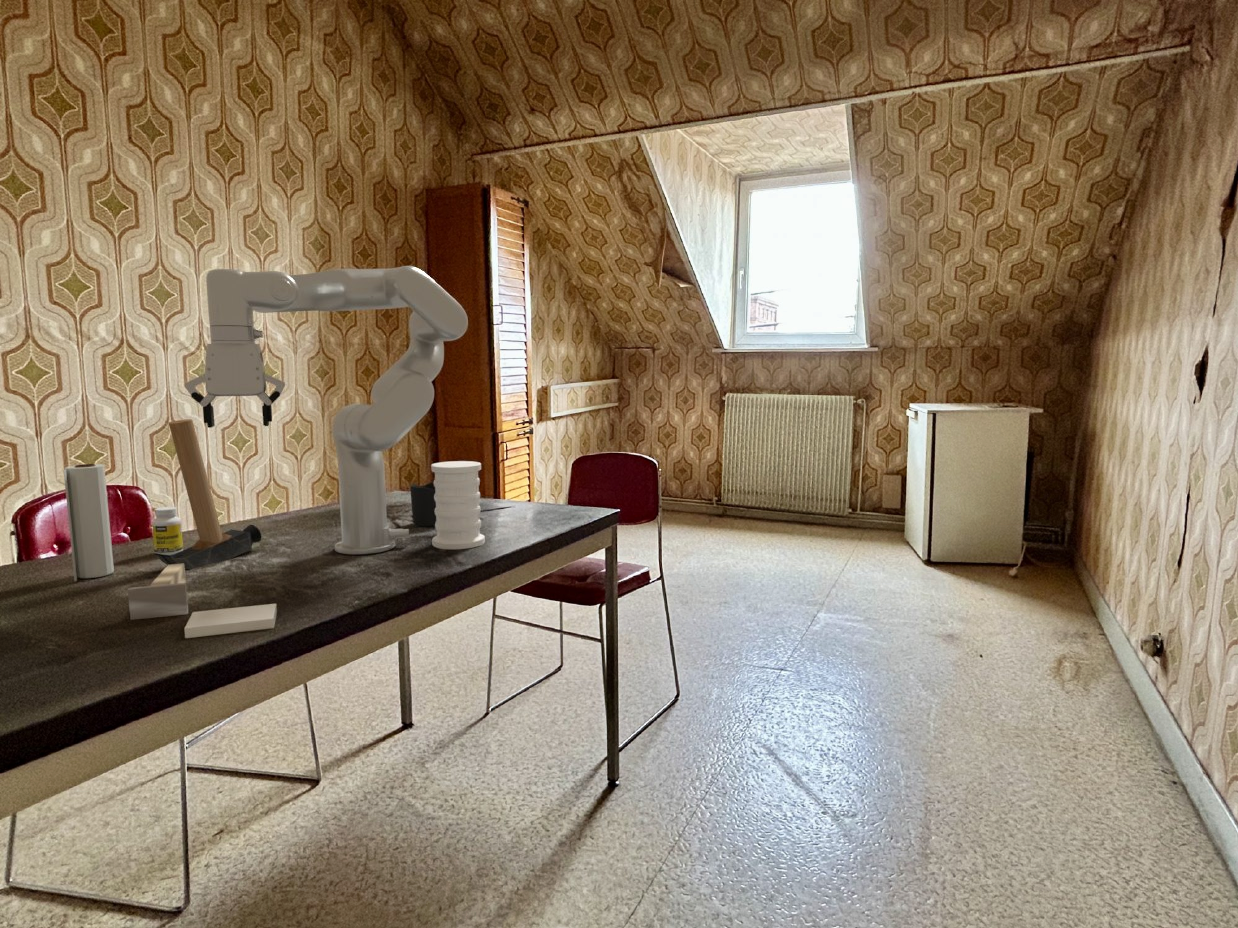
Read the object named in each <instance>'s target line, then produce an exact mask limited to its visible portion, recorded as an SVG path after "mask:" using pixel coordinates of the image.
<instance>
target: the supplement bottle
mask: <svg viewBox="0 0 1238 928" xmlns="http://www.w3.org/2000/svg"><path fill="white" fill-rule="evenodd" d="M177 510H178V509H177V507H175V506H163V507H157V508H155V509H154V515H155V517H156V518H154V519H153V520H152V523H151V527H152V528H151V529H152V540H153V554H154V553H157V554H162V555H169V556H170V555H173V554H176V553H178V552H180V551H183V550H184V543H183V542H184V541H183V528H182V527H183V526H182V520H181V518H180V517H179V516H177V514H178V513H177V512H178V511H177Z"/></svg>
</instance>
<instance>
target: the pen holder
mask: <svg viewBox="0 0 1238 928" xmlns="http://www.w3.org/2000/svg"><path fill="white" fill-rule="evenodd" d="M409 487H410V490H409V491H410V500H411V501H410V502H411V513H412V514H411V515H412V522H413V523H412V524H413V525H414V526H416V527H422V528H424V527H425V528H432V527H433V528H434V527H435V523H436V515H435V512H434V511H435V508H436V501H435V499H434V494H435V487H434V481H432V482H429V483H426V484H423V485H417V484H413V483H412V484H410V485H409Z"/></svg>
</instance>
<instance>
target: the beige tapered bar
mask: <svg viewBox="0 0 1238 928" xmlns="http://www.w3.org/2000/svg"><path fill="white" fill-rule="evenodd" d="M127 596H128V609H129V616H130V617H129V619H130V621H132V620H142V619H151V618H163V617H171V616H181V615H183V616H184V615H188V614H189V611H190V610H189V600H188V589H187V579H186V569H185V566H184V563H183V564H171V565H167V566H166V567H165V568H164V569H163V570H162V571H161V573H159V574H158V575H157V577H156V578H154V580H153V581H152V582H151V584H150V585H147V586H135V587H128V589H127Z"/></svg>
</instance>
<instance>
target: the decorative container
mask: <svg viewBox="0 0 1238 928" xmlns="http://www.w3.org/2000/svg"><path fill="white" fill-rule="evenodd" d="M430 468H431V469H430V470H431V472H432V473H434V480H433V482H434V487H435V494H434V499H435V501H436V508H435V511H434V512H435V515H436V523H435V526H434V528H435V530H436V535H435V536H434V537H432V540H431V541H432V543H431V544H432V546H433V547H434V548H437V549H441V550H465V549H466V550H467V549H472V548H473V549H474V548H477V547H481V546H482V545H484V544H485V543H486V539H485V537H486V536H485V535H484V534H482V533H481V529H480V528H481V527H482V521H481V519H480V514H481V511H482V508H481V505H480V500H481V492H480V489H479V486H480V482H481V479H480V477H479V471H481V470H482V463H481V462H478V461H470V460H469V461H468V460H457V461H456V460H455V461H454V460H453V461H441V462H440V461H439V462H435V463H431V465H430Z"/></svg>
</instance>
